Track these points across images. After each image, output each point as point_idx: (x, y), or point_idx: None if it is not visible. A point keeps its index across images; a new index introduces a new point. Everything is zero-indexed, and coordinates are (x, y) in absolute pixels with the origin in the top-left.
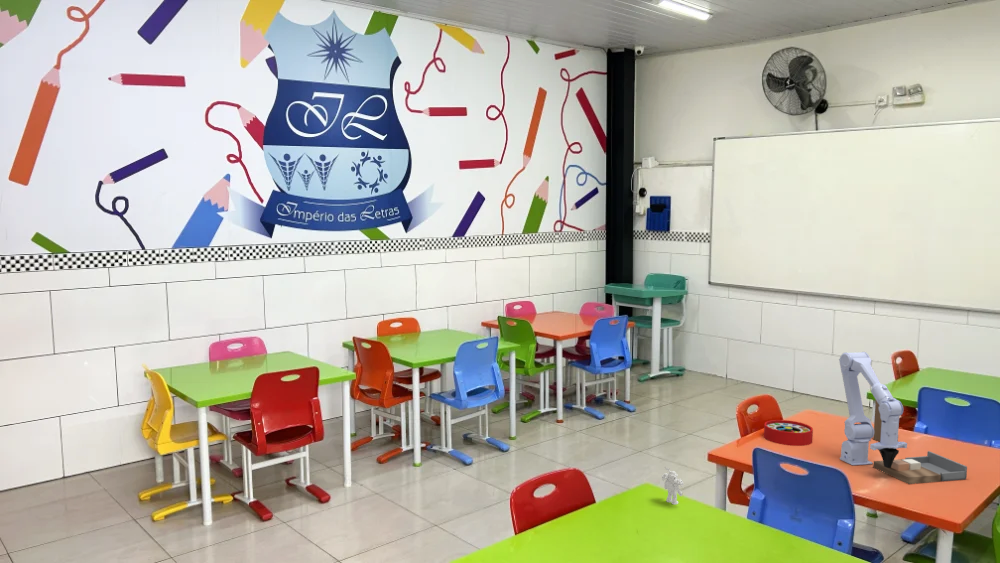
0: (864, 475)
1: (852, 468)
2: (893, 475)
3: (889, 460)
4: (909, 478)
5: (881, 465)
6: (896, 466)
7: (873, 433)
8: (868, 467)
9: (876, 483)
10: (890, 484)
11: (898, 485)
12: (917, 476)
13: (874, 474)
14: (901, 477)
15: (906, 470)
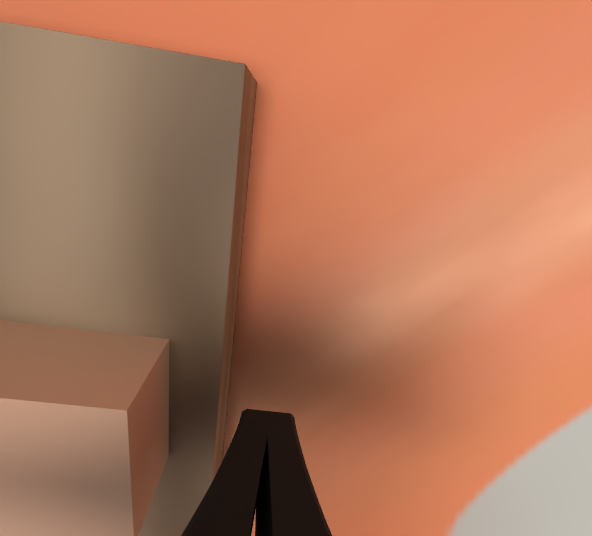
0: (462, 420)
1: (396, 533)
2: (232, 327)
3: (300, 531)
4: (231, 62)
5: None
6: (149, 406)
7: None
8: None
9: (586, 241)
10: (478, 161)
11: (421, 96)
12: (33, 46)
13: (353, 413)
14: (238, 217)
15: (35, 319)
